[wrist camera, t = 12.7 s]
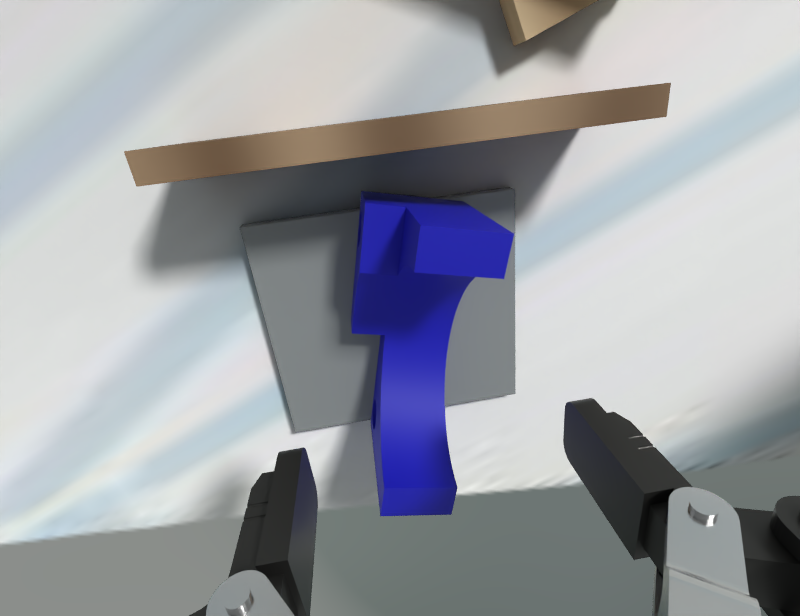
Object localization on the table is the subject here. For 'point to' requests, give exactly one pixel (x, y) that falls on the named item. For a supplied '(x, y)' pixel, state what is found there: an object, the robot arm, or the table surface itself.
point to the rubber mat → (332, 305)
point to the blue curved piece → (416, 333)
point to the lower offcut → (537, 15)
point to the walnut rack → (395, 134)
